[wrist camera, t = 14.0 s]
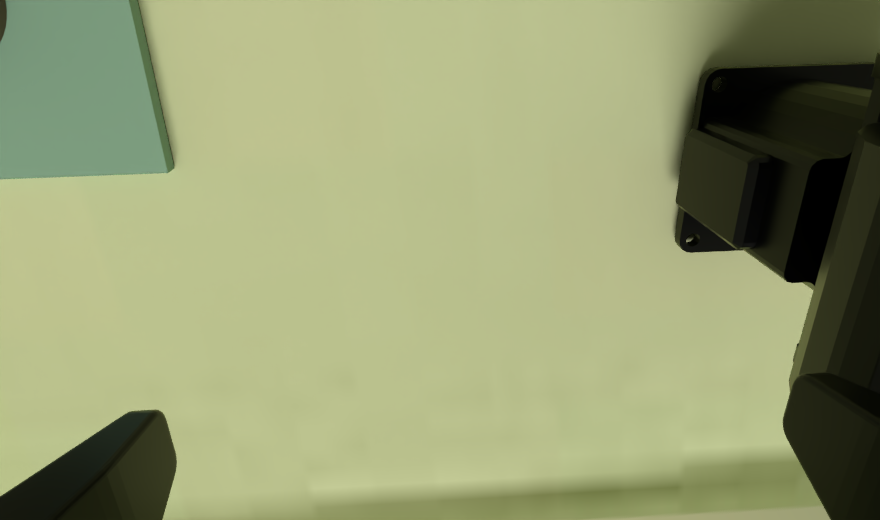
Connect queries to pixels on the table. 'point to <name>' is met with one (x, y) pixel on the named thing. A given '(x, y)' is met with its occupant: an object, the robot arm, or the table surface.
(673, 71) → the table surface
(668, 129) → the table surface
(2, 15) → the walnut peg
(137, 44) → the green mat
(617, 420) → the table surface
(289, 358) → the table surface
